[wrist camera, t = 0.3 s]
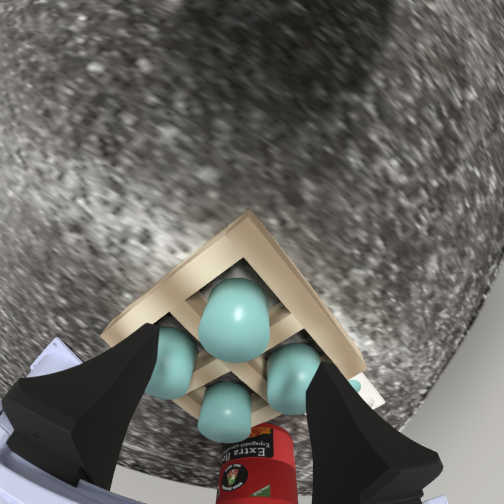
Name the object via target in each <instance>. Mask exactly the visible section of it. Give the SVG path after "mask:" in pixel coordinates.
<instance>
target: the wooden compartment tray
mask: <svg viewBox="0 0 504 504" xmlns="http://www.w3.org/2000/svg"><path fill="white" fill-rule="evenodd" d="M243 257H244V258H245V259H246V260H247V262H248V263H249V264H250V265H251V266H252V268H253V269H254V270H255V271H256V272H257V273H258V275H259V276H260V277H261V278H262V279H263V281H264V282H265V283H266V284H267V285H268V286H269V288H270V289H271V290H272V291H273V292H274V293H275V295H276V296H277V297H278V298H279V299H280V302H278V303H277V304H275V305H274V306H272V307H271V308H269V327H270V340H269V344H268V346H267V348H266V349H265V351H267V350H269V349H270V348H272V347H274V346H275V345H277V344H279V343H281V342H282V341H284V340H285V339H287V338H289V337H290V336H292V335H294V334H295V333H297V332H299V331H300V330H302V329H303V328H304V329H305V330H306V331H307V332H308V333H309V334H310V336H311V337H312V338H313V339H314V340H315V341H316V343H317V344H318V345H319V346H320V347H321V348H322V350H323V351H324V352H325V354H324V355H322V356H320V361H324V362H331V363H334V364H335V365H336V366H337V368H338V369H339V370H340V371H341V373H342V374H343V375H344V376H345V378H346V379H347V380H349V379H351V378H353V377H354V376H356V375H358V374H359V373H361V372H363V371H364V370H366V369H367V367H366V364H365V362H364V359H363V357H362V355H361V352H360V350H359V349H358V347H357V346H356V345H355V343H354V342H353V341H352V339H351V338H350V337H349V335H348V334H347V333H346V331H345V330H344V329H343V327H342V326H341V325H340V323H339V322H338V321H337V319H336V318H335V317H334V315H333V314H332V313H331V311H330V310H329V309H328V307H327V306H326V305H325V304H324V302H323V301H322V300H321V298H320V297H319V296H318V294H317V293H316V292H315V291H314V289H313V288H312V287H311V285H310V284H309V283H308V281H307V280H306V279H305V278H304V276H303V275H302V274H301V272H300V271H299V270H298V269H297V267H296V266H295V265H294V263H293V262H292V261H291V260H290V258H289V257H288V256H287V255H286V253H285V252H284V251H283V249H282V248H281V247H280V246H279V244H278V243H277V242H276V241H275V239H274V238H273V237H272V236H271V234H270V233H269V232H268V231H267V229H266V228H265V227H264V225H263V224H262V223H261V222H260V220H259V219H258V218H257V217H256V216H255V214H254V213H253V212H252V211H251V209H248V210H247V211H246V212H245V213H243V214H242V215H241V216H239V217H238V218H237V219H235V220H234V221H233V222H232V223H230V224H229V225H228V226H226V227H225V228H224V229H223V230H221V231H220V232H219V233H218V234H216V235H215V236H214V237H212V238H211V239H210V240H209V241H207V242H206V243H205V244H204V245H202V246H201V247H200V248H199V249H197V250H196V251H195V252H194V253H192V254H191V255H190V256H189V257H187V258H186V259H185V260H184V261H182V262H181V263H180V264H179V265H178V266H176V267H175V268H174V269H173V270H171V271H170V272H169V273H168V274H166V275H165V276H164V277H163V278H162V279H160V280H159V281H158V282H157V283H156V284H154V285H153V286H152V287H151V288H150V289H148V290H147V291H146V292H145V293H144V294H142V295H141V296H140V297H139V298H138V299H136V300H135V301H134V302H133V303H132V304H130V305H129V306H128V307H127V308H126V309H125V310H123V311H122V312H121V313H120V314H119V315H118V316H116V317H115V318H114V319H113V320H112V321H111V322H110V324H109V325H108V326H107V328H106V329H105V330H104V332H103V333H102V334H101V337H102V338H103V339H104V340H105V341H106V342H107V343H108V344H109V345H110V346H111V347H113V346H115V345H116V344H118V343H119V342H121V341H122V340H124V339H125V338H126V337H128V336H129V335H130V334H132V333H133V332H134V331H136V330H137V329H138V328H140V327H141V326H142V325H144V324H145V323H150V324H153V323H155V322H156V321H157V320H159V319H160V318H161V317H163V316H164V315H165V314H167V313H168V312H170V313H171V314H172V315H173V316H174V317H175V318H176V319H177V320H178V321H179V322H180V323H181V324H182V325H183V326H184V327H185V328H186V329H187V330H188V331H189V332H190V333H191V334H192V335H193V336H194V337H195V338H196V339H197V340H198V341H199V342H200V340H199V335H198V329H199V325H200V322H201V319H202V316H203V313H204V310H205V307H206V304H207V299H206V298H205V297H204V296H203V295H202V294H201V293H200V292H199V291H198V290H199V289H201V288H202V287H203V286H205V285H206V284H207V283H209V282H210V281H212V280H213V279H214V278H216V277H217V276H218V275H220V274H221V273H222V272H224V271H225V270H226V269H228V268H229V267H231V266H232V265H233V264H235V263H236V262H237V261H239V260H240V259H241V258H243ZM200 343H201V342H200ZM265 351H264V352H265ZM264 352H263V353H264ZM230 371H232V372H233V373H234V374H235V375H236V376H237V377H238V378H240V379H241V380H242V381H243V382H244V383H245V384H246V385H248V386H249V387H250V388H251V389H252V390H254V391H255V392H254V393H252V394H251V395H252V414H251V427H254V426H256V425H258V424H261V423H263V422H265V421H268V420H270V419H272V418H275V417H277V416H279V415H281V414H283V413H280V412H277V411H275V410H274V409H273V408H272V407H271V406H270V405H269V403H268V398H267V361H266V360H265V359H264V358H263V357H262V356H261V355H260V356H258V357H257V358H255V359H253V360H250V361H247V362H242V363H231V362H225V361H222V360H219V359H217V358H215V357H214V356H212V355H211V354H209V353H208V352H207V351H206V350H205V349H204V350H203V351H201V352H199V353H198V354H197V359H196V362H195V366H194V369H193V373H192V376H191V380H190V383H189V387H188V390H187V392H186V394H185V395H183V396H182V397H180V398H178V399H172V401H173V402H175V403H176V404H177V405H178V406H180V407H181V408H182V409H184V410H185V411H186V412H188V413H189V414H190V415H192V416H193V417H194V418H196V419H197V420H199V416H200V411H201V407H202V402H203V397H204V393H205V390H206V389H207V388H206V387H205V386H204V385H205V384H207V383H209V382H211V381H213V380H214V379H216V378H218V377H220V376H222V375H224V374H226V373H228V372H230Z"/></svg>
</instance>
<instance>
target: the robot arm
mask: <svg viewBox="0 0 504 504" xmlns="http://www.w3.org/2000/svg"><path fill="white" fill-rule="evenodd" d="M159 332H160V326H157V325H154V324H150V323H145V324H144V325H142V326H141V327H140V328H138V329H137V330H136V331H134V332H133V333H132V334H130V335H129V336H128V337H126V338H125V339H124V340H122V341H121V342H119V343H118V344H116V345H115V346H113V347H112V348H110V349H108V350H107V351H105V352H103V353H102V354H100V355H98V356H96V357H94V358H92V359H90V360H88V361H86V362H84V363H83V362H82V361H81V360H80V359H79V358H78V357H77V356H76V355H75V354H74V353H73V352H72V351H71V350H70V349H69V348H68V347H67V346H66V345H65V344H64V343H63V342H62V340H61V339H59V338H57V337H56V338H55V339H54V340H53V341H52V342H51V343H50V344H49V345H48V347H47V348H46V349H45V350H44V351H43V352H42V353H41V355H40V356H39V357H38V358H37V359H36V360H35V361H34V363H33V364H32V365H31V366H30V368H31V370H32V371H31V372H30V373H29V375H28V376H27V377H26V378H20V379H19V380H18V381H17V382H16V383H15V384H14V385H13V386H12V388H11V389H10V390H9V392H8V393H7V394H6V395H5V397H4V398H3V399H2V400H1V399H0V504H145V503H142V502H139V501H136V500H133V499H130V498H127V497H124V496H121V495H118V494H115V493H112V492H110V488H111V483H112V479H113V475H114V471H115V467H116V464H117V460H118V457H119V453H120V450H121V447H122V443H123V440H124V437H125V434H126V431H127V428H128V425H129V423H130V420H131V418H132V416H133V413H134V411H135V409H136V407H137V405H138V403H139V401H140V399H141V397H142V395H143V393H144V391H145V389H146V387H147V385H148V383H149V381H150V379H151V376H152V374H153V371H154V368H155V365H156V362H157V354H158V343H159ZM306 416H307V422H308V428H309V434H310V440H311V447H312V455H313V493H312V504H449V503H448V500H447V498H446V495H441V496H438V497H435V498H432V499H428V500H426V501H424V502H421V499H420V498H421V497H422V496H423V495H424V494H423V491H422V489H423V488H424V487H426V486H427V485H428V484H429V483H431V482H432V481H433V480H434V479H435V478H437V477H438V476H439V474H440V473H441V472H442V470H443V465H442V463H441V460H440V458H439V456H438V453H437V452H435V451H432V450H430V449H428V448H426V447H424V446H422V445H420V444H418V443H416V442H414V441H413V440H411V439H409V438H408V437H406V436H404V435H403V434H401V433H400V432H399V431H397V430H396V429H395V428H393V427H392V426H391V425H389V424H388V423H387V422H386V421H385V420H384V419H382V418H381V417H380V416H379V415H378V414H377V413H376V412H375V411H374V410H373V409H372V408H371V407H370V406H369V405H368V404H367V403H366V402H365V401H364V400H363V398H362V397H361V396H360V395H359V394H358V393H357V391H356V390H355V389H354V388H353V387H352V385H351V384H350V383H349V382H348V380H347V379H346V378H345V376H344V375H343V374H342V373H341V371H340V370H339V369H338V368H337V366H336V365H335V364H334V363H331V362H324V361H321V362H320V365H319V367H318V369H317V370H316V372H315V374H314V376H313V378H312V380H311V382H310V384H309V386H308V388H307V390H306Z"/></svg>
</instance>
